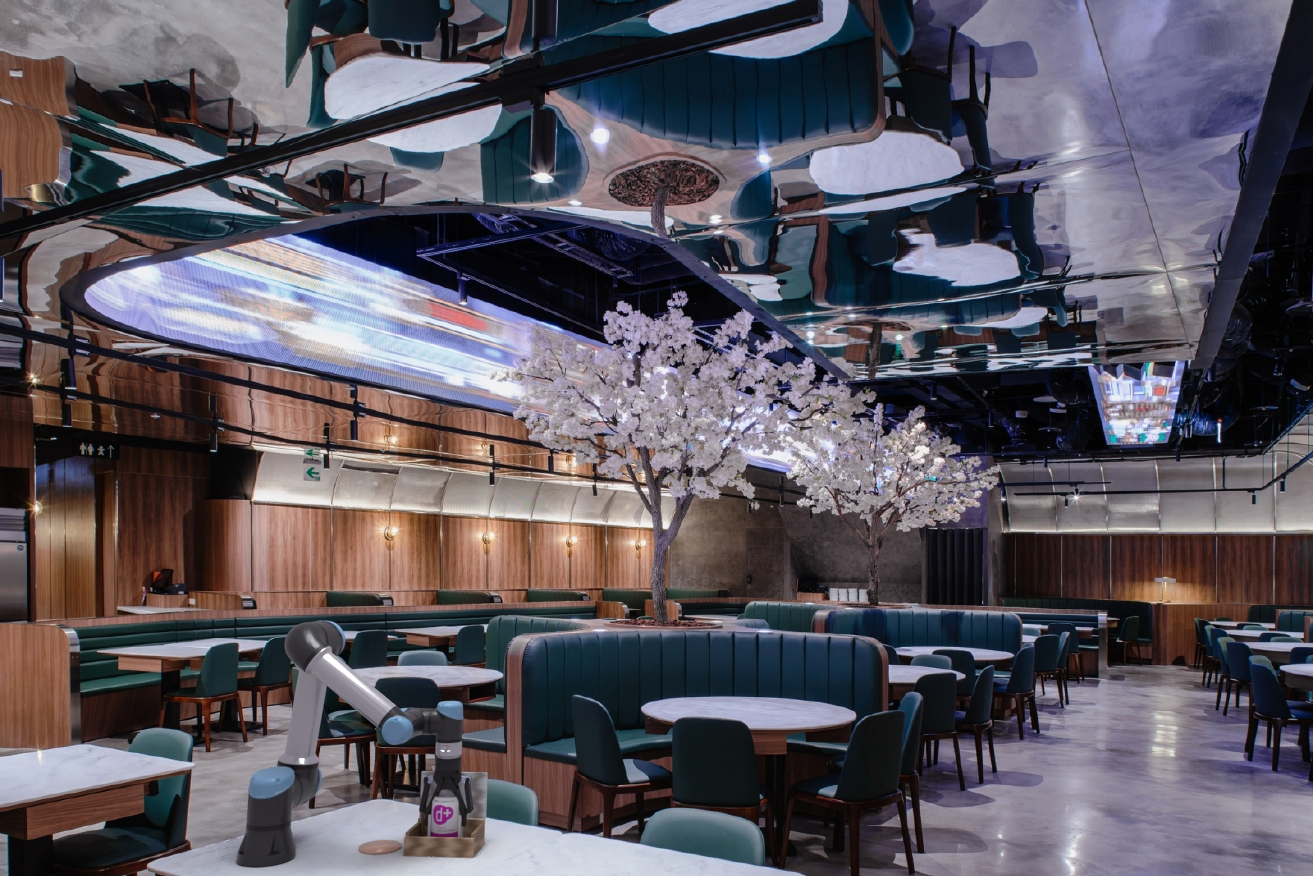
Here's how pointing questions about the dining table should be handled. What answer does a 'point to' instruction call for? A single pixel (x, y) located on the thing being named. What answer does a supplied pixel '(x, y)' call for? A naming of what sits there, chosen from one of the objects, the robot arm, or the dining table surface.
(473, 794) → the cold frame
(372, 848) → the saucer
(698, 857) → the dining table surface
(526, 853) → the dining table surface
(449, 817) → the supplement can
